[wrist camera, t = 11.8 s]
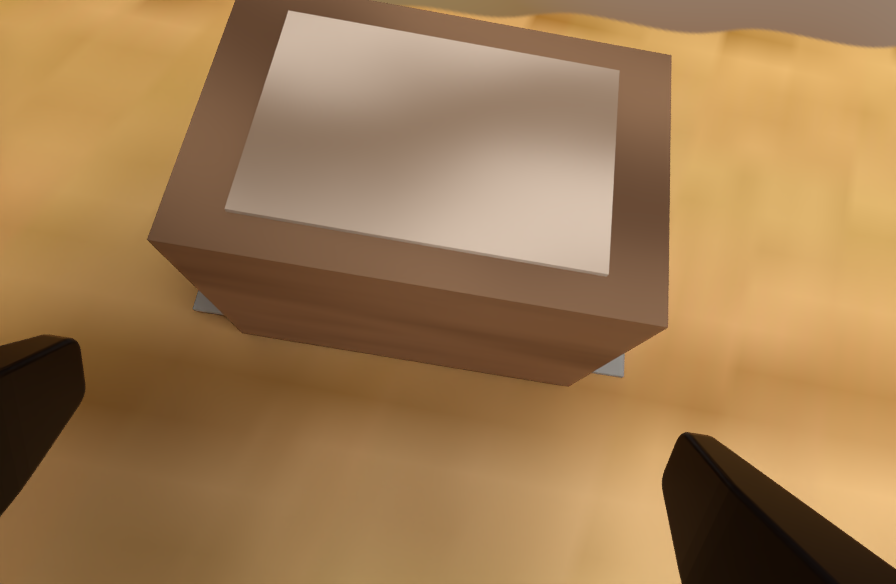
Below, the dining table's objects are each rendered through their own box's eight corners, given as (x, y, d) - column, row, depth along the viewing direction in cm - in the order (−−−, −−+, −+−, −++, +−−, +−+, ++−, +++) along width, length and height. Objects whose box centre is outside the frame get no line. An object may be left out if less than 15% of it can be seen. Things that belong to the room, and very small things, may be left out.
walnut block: (673, 51, 15) (582, 196, 23) (242, -28, 15) (295, 146, 23) (670, 325, 13) (568, 386, 20) (144, 237, 12) (242, 332, 20)
